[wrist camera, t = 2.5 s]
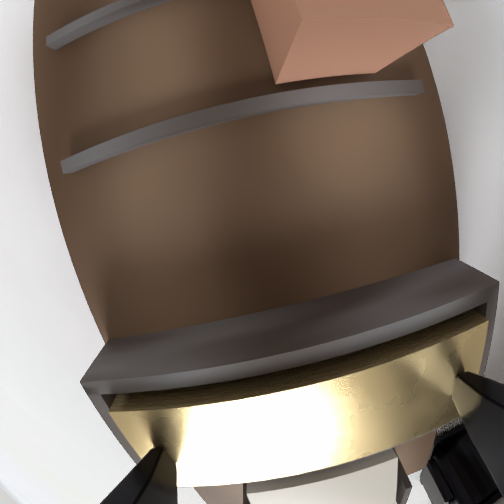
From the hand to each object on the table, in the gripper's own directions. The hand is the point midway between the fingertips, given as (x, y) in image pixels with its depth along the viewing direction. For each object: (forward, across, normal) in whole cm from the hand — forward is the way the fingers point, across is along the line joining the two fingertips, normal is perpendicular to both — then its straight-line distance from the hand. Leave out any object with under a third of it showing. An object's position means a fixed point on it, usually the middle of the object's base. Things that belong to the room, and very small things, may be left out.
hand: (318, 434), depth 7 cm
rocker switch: (0, 0, +7) cm, 7 cm away
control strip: (+5, 0, -3) cm, 6 cm away
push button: (+2, 0, 0) cm, 2 cm away
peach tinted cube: (+3, -2, -11) cm, 12 cm away
